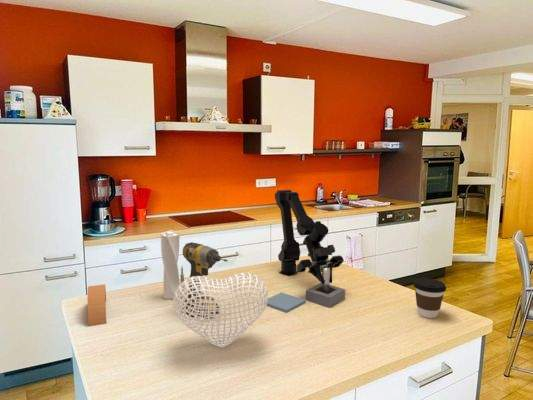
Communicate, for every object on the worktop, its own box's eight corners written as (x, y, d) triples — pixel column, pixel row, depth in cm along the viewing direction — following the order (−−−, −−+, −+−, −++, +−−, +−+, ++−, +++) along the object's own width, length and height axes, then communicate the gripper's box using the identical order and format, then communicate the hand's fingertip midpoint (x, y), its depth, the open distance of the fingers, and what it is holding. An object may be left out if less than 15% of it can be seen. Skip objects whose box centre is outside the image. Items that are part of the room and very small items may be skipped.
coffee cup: (447, 322, 136) (450, 289, 134) (414, 319, 138) (416, 287, 136) (440, 309, 146) (442, 278, 145) (409, 307, 149) (411, 276, 147)
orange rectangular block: (87, 327, 132) (85, 298, 131) (90, 303, 150) (88, 278, 149) (106, 324, 134) (104, 296, 133) (106, 301, 153) (105, 276, 151)
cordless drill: (216, 327, 132) (215, 254, 128) (176, 311, 144) (174, 244, 140) (234, 317, 139) (233, 248, 135) (195, 303, 151) (193, 239, 147)
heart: (261, 329, 131) (261, 264, 127) (273, 354, 116) (273, 281, 112) (174, 339, 124) (172, 271, 121) (175, 366, 109) (172, 289, 106)
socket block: (305, 299, 155) (305, 290, 154) (321, 291, 163) (321, 282, 162) (329, 307, 148) (330, 297, 147) (344, 299, 156) (345, 289, 155)
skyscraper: (180, 301, 153) (178, 231, 149) (159, 301, 153) (157, 231, 149) (185, 293, 162) (183, 226, 157) (165, 293, 162) (163, 226, 157)
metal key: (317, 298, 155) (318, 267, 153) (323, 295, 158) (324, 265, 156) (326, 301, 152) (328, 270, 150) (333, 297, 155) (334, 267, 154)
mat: (261, 303, 151) (261, 301, 151) (281, 294, 160) (281, 292, 160) (286, 312, 143) (286, 310, 143) (305, 302, 152) (305, 300, 152)
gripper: (300, 240, 152) (313, 277, 143) (342, 236, 159) (357, 270, 150) (291, 254, 160) (303, 289, 152) (331, 249, 167) (344, 283, 159)
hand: (327, 283), depth 153 cm, fingers closed on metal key, 3 cm apart
